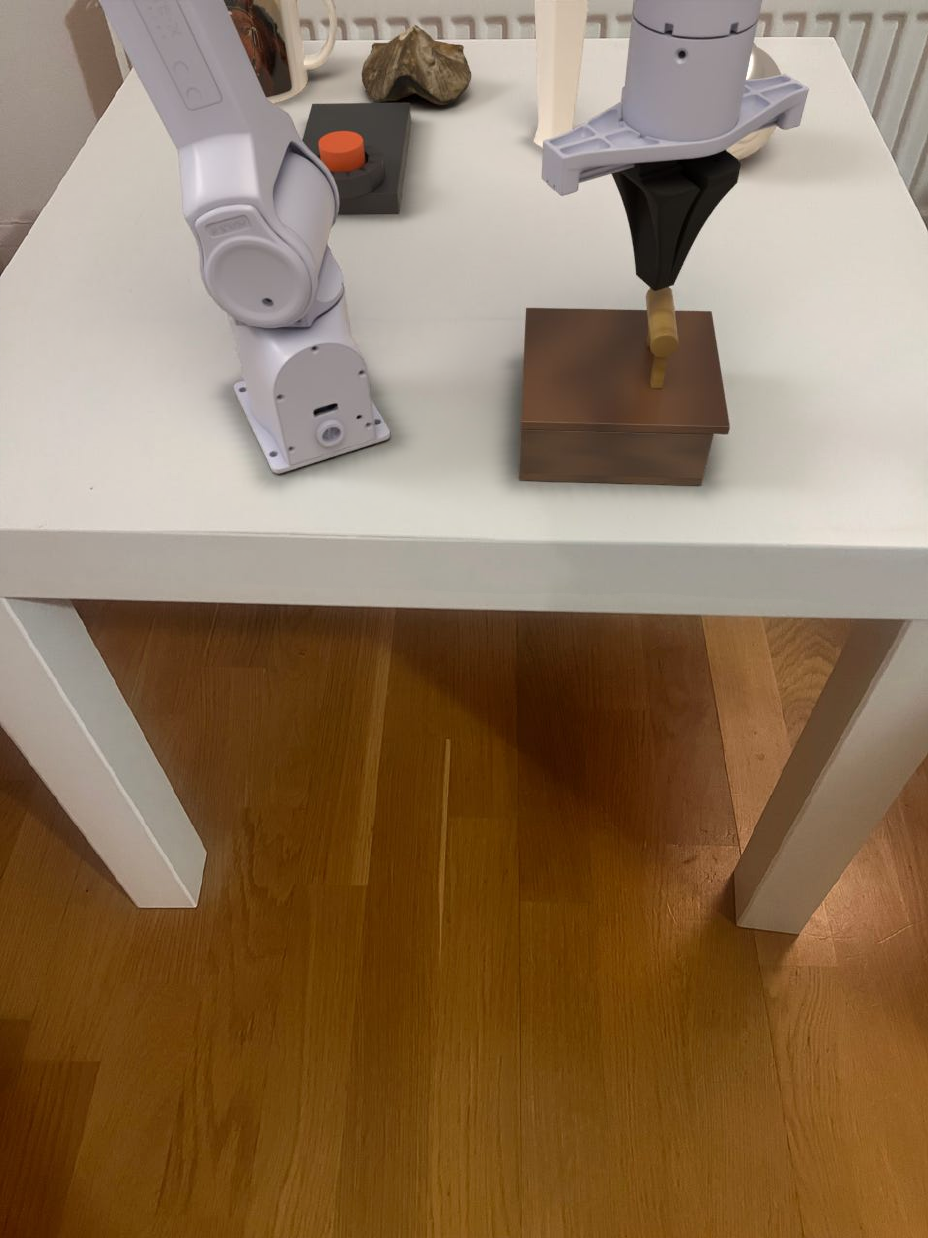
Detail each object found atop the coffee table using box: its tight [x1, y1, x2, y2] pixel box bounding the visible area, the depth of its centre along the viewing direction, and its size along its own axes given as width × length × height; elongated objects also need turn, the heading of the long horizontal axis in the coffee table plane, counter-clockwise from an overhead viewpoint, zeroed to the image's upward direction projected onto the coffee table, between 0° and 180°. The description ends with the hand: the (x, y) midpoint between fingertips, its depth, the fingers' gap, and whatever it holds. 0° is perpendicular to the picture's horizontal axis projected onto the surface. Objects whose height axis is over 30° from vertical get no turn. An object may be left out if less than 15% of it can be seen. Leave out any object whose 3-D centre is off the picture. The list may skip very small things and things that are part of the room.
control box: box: [302, 102, 412, 216], centre depth 81 cm, size 17×9×4 cm, turn 178°
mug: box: [224, 0, 338, 104], centre depth 88 cm, size 10×12×11 cm
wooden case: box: [518, 428, 715, 486], centre depth 60 cm, size 11×11×4 cm
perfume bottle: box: [533, 0, 590, 149], centre depth 78 cm, size 5×4×15 cm
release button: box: [319, 131, 365, 172], centre depth 76 cm, size 4×4×2 cm
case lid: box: [520, 286, 731, 435], centre depth 56 cm, size 12×11×4 cm
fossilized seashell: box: [361, 24, 472, 106], centre depth 88 cm, size 8×7×10 cm
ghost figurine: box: [726, 42, 782, 161], centre depth 78 cm, size 9×10×10 cm
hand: (654, 279), depth 54 cm, fingers closed
